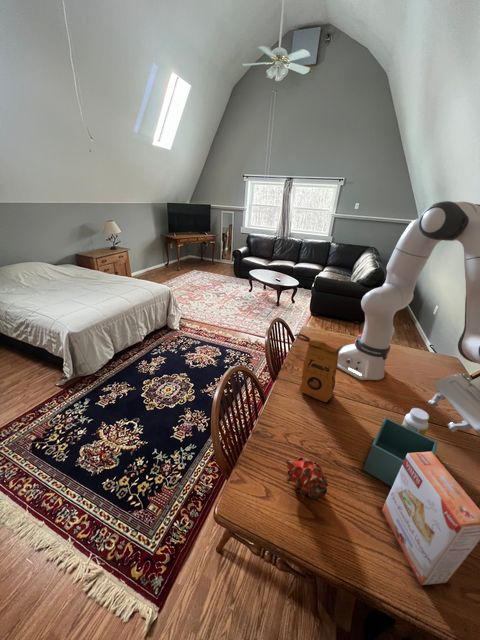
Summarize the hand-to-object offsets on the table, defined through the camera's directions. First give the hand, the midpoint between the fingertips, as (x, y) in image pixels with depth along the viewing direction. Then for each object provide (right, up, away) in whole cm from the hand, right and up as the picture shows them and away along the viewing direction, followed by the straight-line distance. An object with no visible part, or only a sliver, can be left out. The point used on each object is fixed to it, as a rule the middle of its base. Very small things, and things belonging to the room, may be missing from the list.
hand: (439, 415), depth 80 cm
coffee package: (-31, 0, +23) cm, 38 cm away
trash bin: (-16, -13, -4) cm, 21 cm away
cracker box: (-22, -21, -21) cm, 37 cm away
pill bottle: (-6, -9, +5) cm, 12 cm away
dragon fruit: (-43, -15, -10) cm, 47 cm away
